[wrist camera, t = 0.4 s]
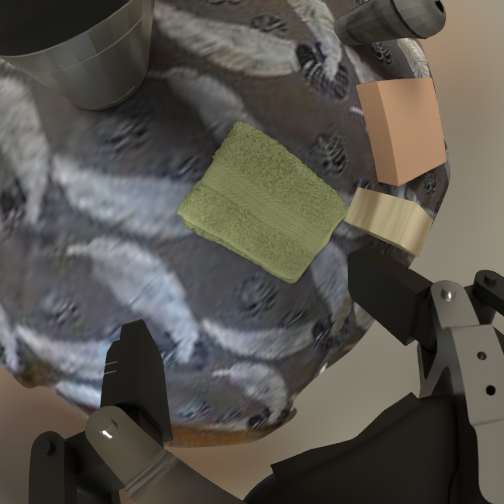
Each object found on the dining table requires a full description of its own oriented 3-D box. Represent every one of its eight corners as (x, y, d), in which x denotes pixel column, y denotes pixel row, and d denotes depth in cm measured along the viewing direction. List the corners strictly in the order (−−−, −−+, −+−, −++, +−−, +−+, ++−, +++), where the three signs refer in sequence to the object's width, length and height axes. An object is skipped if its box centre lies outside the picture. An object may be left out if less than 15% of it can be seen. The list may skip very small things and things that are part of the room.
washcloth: (289, 283, 36) (301, 294, 33) (169, 217, 28) (171, 225, 25) (342, 199, 35) (359, 204, 32) (237, 112, 26) (248, 108, 24)
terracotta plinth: (355, 85, 29) (376, 81, 26) (412, 79, 32) (431, 77, 28) (377, 181, 35) (398, 186, 32) (428, 158, 38) (446, 161, 35)
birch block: (343, 220, 35) (398, 244, 27) (357, 187, 35) (415, 202, 26) (365, 232, 38) (418, 256, 29) (378, 201, 37) (433, 219, 28)
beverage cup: (342, 60, 27) (481, 34, 10) (315, 14, 24) (442, -39, 6) (374, 49, 28) (496, 31, 11) (351, 7, 25) (466, -29, 7)
